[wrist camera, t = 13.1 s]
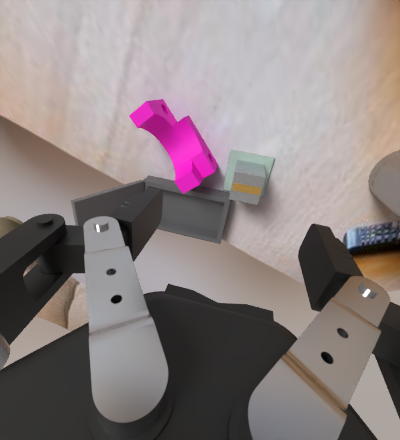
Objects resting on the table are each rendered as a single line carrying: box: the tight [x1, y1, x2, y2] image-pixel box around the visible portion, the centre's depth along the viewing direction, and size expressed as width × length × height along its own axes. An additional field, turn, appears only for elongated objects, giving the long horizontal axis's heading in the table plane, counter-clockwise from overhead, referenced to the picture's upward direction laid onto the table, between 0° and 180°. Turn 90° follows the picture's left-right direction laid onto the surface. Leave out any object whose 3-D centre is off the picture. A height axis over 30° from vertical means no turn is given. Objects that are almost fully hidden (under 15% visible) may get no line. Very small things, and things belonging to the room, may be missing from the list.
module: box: [229, 160, 266, 205], centre depth 40 cm, size 5×5×7 cm
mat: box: [223, 150, 274, 198], centre depth 43 cm, size 8×8×1 cm
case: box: [71, 176, 230, 244], centre depth 43 cm, size 24×11×16 cm, turn 82°
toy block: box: [130, 99, 218, 194], centre depth 39 cm, size 15×6×8 cm, turn 33°
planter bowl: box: [0, 216, 23, 238], centre depth 61 cm, size 16×16×11 cm
